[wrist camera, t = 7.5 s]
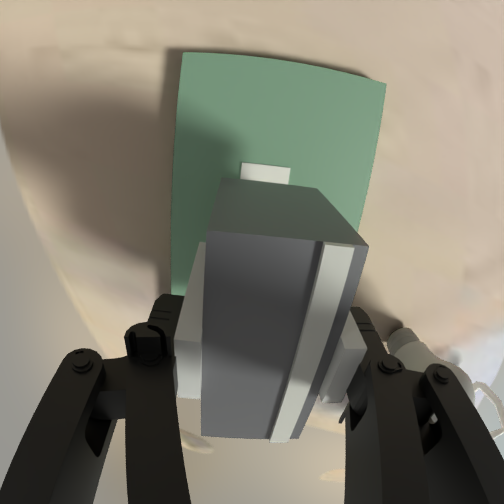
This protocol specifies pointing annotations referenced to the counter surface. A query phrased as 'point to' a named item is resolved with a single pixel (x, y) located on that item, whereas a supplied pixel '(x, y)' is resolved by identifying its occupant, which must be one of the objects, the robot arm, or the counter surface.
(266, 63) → the board
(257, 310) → the block
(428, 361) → the lightbulb
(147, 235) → the counter surface
